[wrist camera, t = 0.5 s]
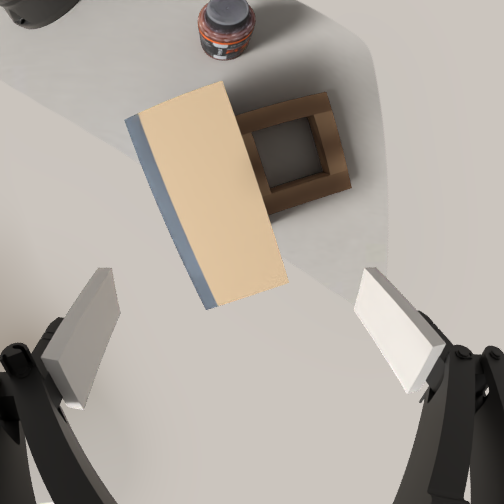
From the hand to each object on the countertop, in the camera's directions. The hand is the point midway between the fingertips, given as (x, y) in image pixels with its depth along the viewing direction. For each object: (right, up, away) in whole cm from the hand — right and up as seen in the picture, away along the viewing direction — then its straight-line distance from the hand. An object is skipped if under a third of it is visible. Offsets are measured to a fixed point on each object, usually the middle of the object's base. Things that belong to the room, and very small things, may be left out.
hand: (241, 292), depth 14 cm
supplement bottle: (-3, +29, +15) cm, 33 cm away
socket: (+5, +15, +22) cm, 27 cm away
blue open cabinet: (-4, +12, +22) cm, 26 cm away
